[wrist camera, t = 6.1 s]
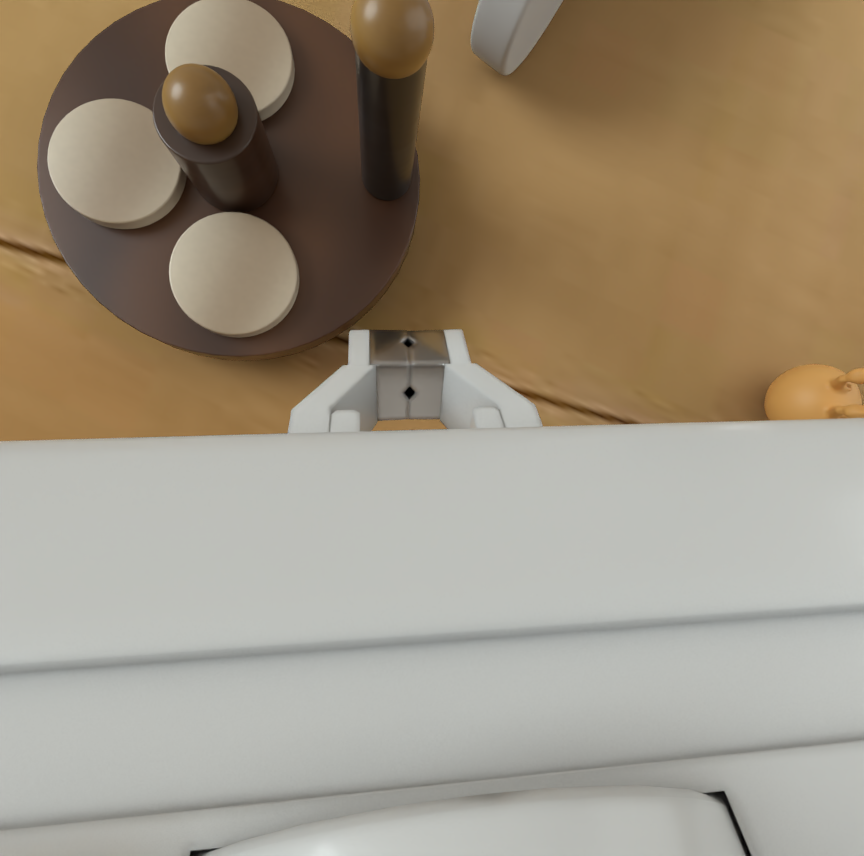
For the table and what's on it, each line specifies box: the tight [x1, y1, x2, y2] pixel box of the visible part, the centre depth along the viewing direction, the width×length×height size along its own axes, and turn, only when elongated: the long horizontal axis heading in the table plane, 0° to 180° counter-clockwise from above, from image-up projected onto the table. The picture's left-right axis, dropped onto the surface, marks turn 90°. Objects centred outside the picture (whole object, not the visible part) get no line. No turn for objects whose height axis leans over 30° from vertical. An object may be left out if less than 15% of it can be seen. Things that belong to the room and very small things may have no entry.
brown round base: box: [37, 0, 434, 361], centre depth 18 cm, size 16×16×11 cm
